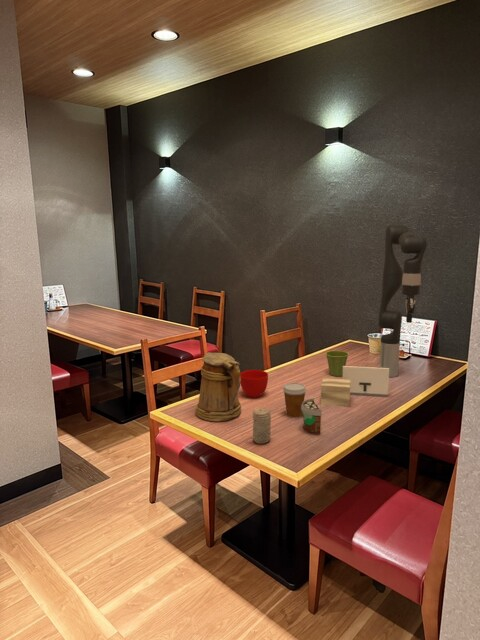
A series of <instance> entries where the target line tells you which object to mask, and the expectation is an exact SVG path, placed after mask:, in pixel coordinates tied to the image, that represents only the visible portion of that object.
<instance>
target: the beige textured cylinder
mask: <svg viewBox="0 0 480 640" xmlns="http://www.w3.org/2000/svg"><path fill="white" fill-rule="evenodd" d="M271 416H272V414H271V411H270V409H269V408H267V407H257V408H255V409H254V410H253V411H252V420H253V421H252V437H253V441H254V443H256V444H266V443H268V442H269V441H270V440H271V436H272V435H271V422H272V417H271Z"/></svg>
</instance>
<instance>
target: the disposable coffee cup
mask: <svg viewBox="0 0 480 640" xmlns="http://www.w3.org/2000/svg"><path fill="white" fill-rule="evenodd" d="M282 391H283V394H284V402H285V403H284V404H285V409H286V410H285V411H286V415H287V416H288V417H292V418H296V417H301V416H303V411H302V410H301V406H302V403H303V402H304V401H305V398H306V397H305V395H306V392H307V387H306V385H304V384H303V383H301V382H300V383H299V382H289V383H285V384H284V385H283V388H282Z"/></svg>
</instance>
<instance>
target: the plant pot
mask: <svg viewBox="0 0 480 640" xmlns="http://www.w3.org/2000/svg"><path fill="white" fill-rule="evenodd" d="M325 355H326V359H327V364H328V365H327V366H328V370H329V375H330V376H331V377H332V376H333V377H339V376H340V377H343V366H347V360H348V356H349V355H350V353H349V352H347V351H344V350H329V351H326V352H325Z"/></svg>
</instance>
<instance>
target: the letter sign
mask: <svg viewBox="0 0 480 640" xmlns="http://www.w3.org/2000/svg"><path fill="white" fill-rule="evenodd" d="M389 378H390V377H389V368H379V367H371V366H355V365H354V366H351V365H346V366H343V376H342V379H350V380H351V383H350V396H364V397H379V398H380V397H381V398H388V396H389Z"/></svg>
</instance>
